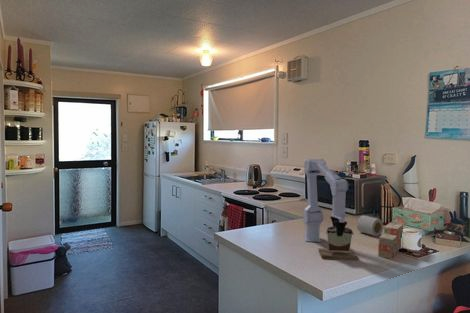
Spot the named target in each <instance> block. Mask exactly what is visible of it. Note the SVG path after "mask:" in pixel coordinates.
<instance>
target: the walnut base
mask: <svg viewBox="0 0 470 313" xmlns="http://www.w3.org/2000/svg"><path fill="white" fill-rule="evenodd" d="M317 250H318V251H319V252H318V254H319V253H320V254H319V256H320V258H321V259H322V260H323V259H324V260H342V261H343V260H344V261H346V260H347V261H350V260H351V261H358V260H359V256H357V254H356V253H355V251H354V250H353V249H350V251H329V248H321V247H320V248H319V247H318V249H317Z"/></svg>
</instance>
